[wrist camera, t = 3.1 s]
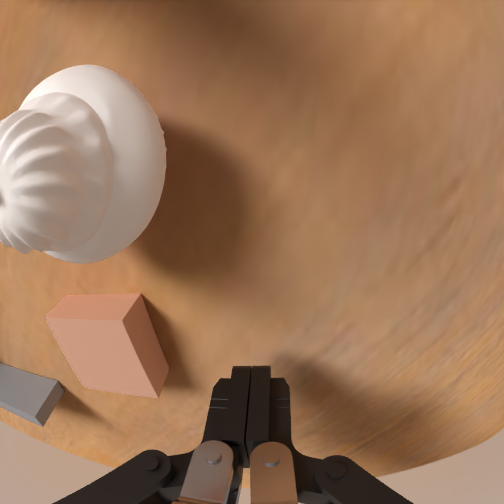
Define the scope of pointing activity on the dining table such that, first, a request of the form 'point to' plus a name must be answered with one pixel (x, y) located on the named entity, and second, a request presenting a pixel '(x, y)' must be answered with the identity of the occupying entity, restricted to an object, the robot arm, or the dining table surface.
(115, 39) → the dining table surface
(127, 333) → the block
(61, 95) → the white rounded ceramic piece
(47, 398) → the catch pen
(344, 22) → the dining table surface
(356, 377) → the dining table surface
